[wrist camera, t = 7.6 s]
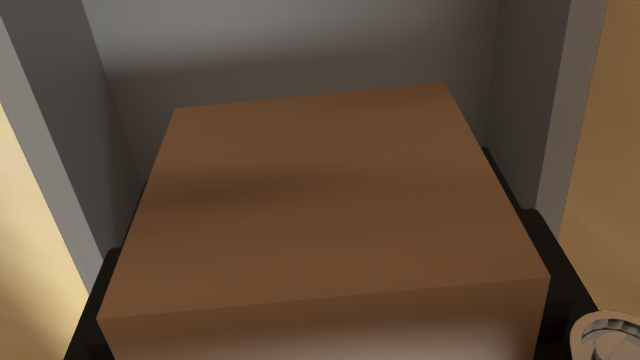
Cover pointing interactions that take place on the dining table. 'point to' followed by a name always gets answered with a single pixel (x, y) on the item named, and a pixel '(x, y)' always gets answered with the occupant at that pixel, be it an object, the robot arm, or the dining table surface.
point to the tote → (279, 84)
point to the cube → (325, 237)
